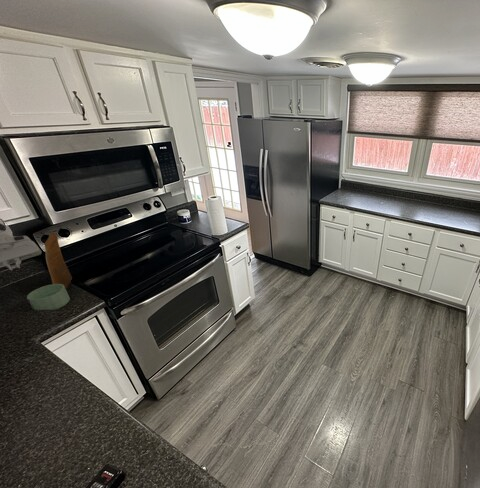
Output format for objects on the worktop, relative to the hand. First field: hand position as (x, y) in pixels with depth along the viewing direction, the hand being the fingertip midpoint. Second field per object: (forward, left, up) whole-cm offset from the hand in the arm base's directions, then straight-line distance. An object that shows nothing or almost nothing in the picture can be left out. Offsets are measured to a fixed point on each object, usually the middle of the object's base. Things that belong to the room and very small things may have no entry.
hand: (15, 268), depth 118 cm
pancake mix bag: (0, +17, -20) cm, 27 cm away
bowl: (+9, 0, -20) cm, 22 cm away
